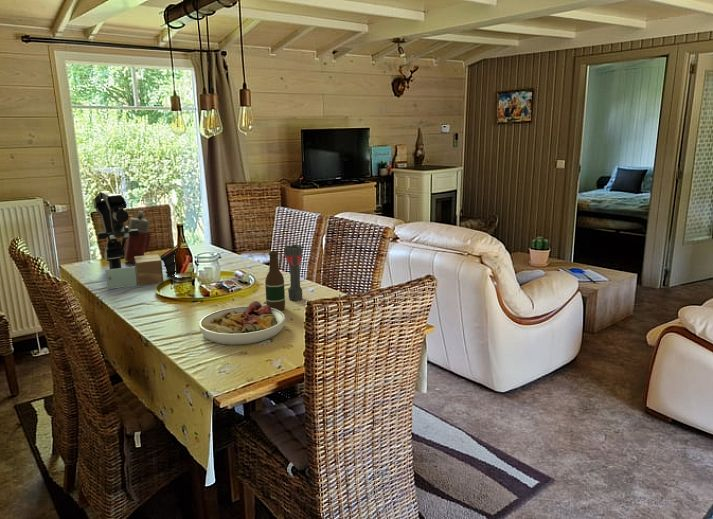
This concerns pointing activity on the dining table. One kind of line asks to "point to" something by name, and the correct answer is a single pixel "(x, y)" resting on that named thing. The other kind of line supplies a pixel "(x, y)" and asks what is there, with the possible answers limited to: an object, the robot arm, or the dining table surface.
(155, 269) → the walnut box
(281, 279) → the beer bottle
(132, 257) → the red grey bottle
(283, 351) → the dining table surface
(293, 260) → the flashlight
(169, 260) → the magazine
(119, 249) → the robot arm
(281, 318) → the bowl
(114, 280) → the door
